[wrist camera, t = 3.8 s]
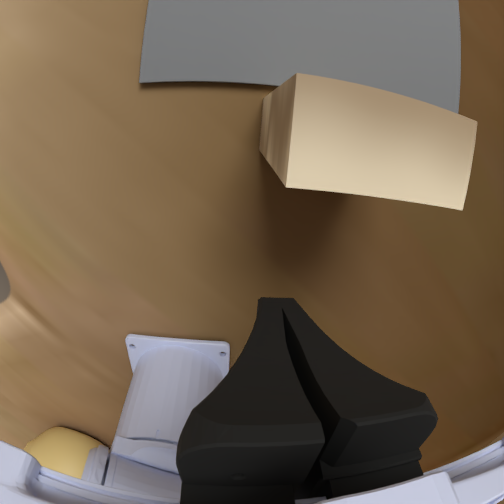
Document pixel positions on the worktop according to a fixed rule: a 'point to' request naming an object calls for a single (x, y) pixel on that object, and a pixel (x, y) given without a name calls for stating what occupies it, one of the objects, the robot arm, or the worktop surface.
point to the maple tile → (366, 142)
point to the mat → (308, 44)
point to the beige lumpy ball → (62, 450)
